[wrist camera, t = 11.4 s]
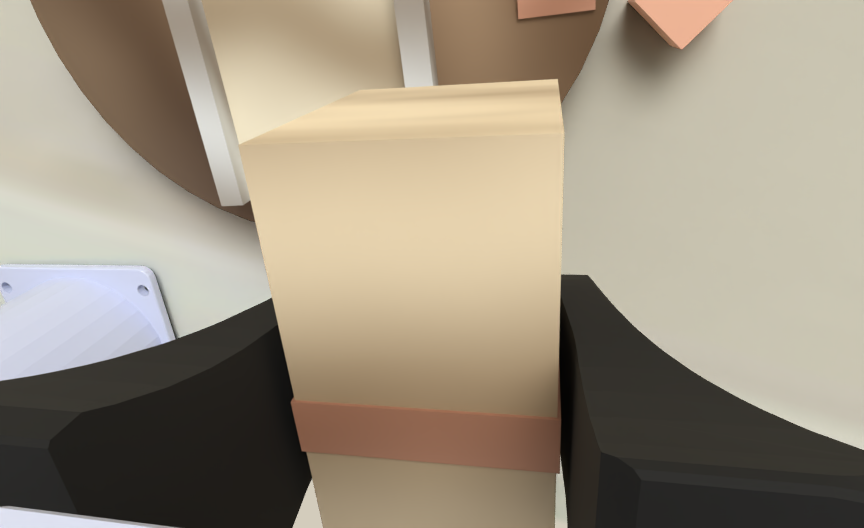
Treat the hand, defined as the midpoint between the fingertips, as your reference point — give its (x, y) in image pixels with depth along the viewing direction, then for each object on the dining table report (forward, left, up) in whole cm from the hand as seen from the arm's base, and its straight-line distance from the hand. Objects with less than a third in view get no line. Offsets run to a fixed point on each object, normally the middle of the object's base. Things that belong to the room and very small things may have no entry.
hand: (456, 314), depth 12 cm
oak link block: (0, 0, -1) cm, 1 cm away
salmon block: (+6, -5, -8) cm, 11 cm away
